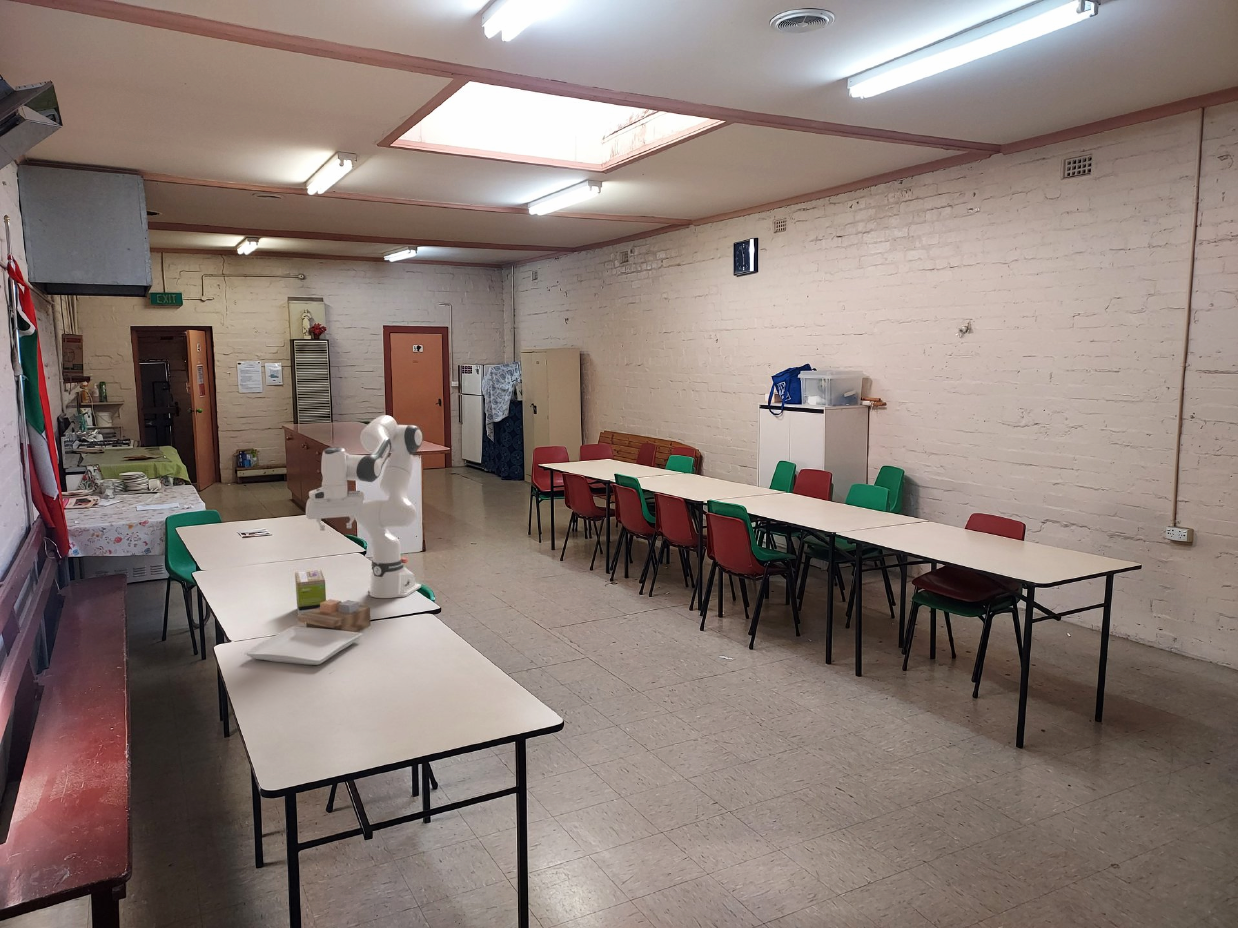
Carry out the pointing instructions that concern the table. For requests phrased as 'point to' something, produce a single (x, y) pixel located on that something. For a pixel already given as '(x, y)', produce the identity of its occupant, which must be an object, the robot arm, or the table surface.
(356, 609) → the tile
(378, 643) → the table surface
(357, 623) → the wooden box
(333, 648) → the square plate
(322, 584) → the tea box
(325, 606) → the tile
